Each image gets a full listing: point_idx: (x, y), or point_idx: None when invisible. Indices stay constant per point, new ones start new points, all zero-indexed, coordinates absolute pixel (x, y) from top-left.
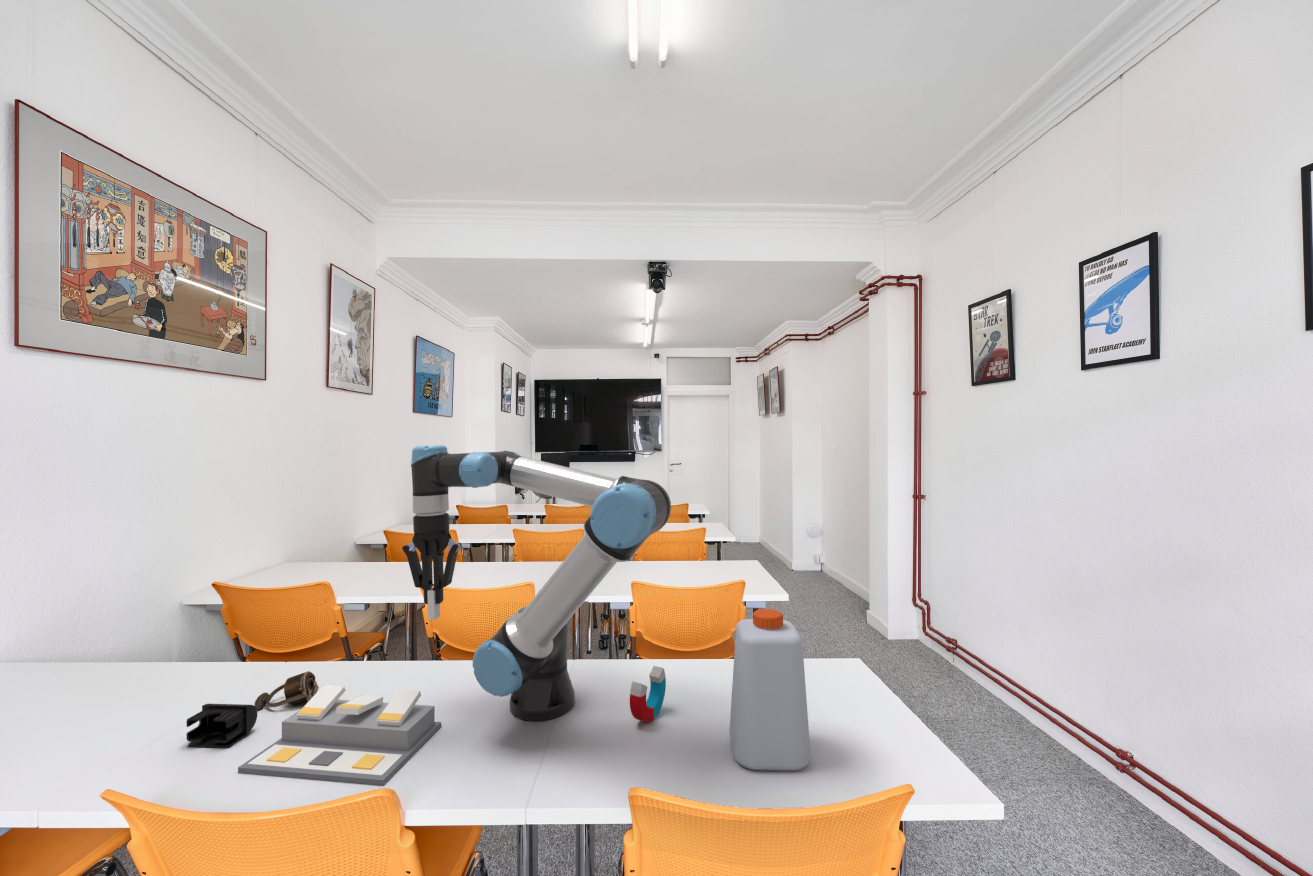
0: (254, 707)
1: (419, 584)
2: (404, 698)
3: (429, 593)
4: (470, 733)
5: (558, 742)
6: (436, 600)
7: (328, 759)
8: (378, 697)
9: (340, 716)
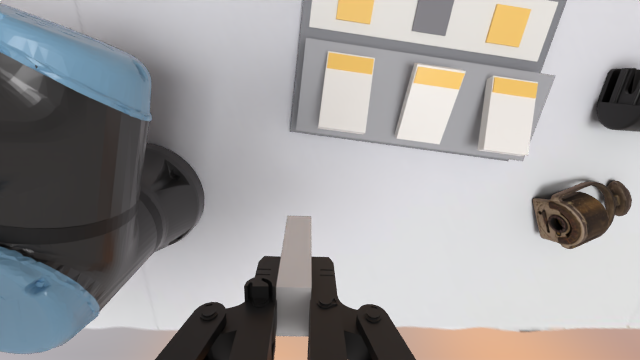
0: (628, 123)
1: (359, 318)
2: (342, 108)
3: (300, 278)
4: (234, 109)
5: None
6: (276, 265)
7: (426, 7)
8: (404, 134)
9: None
